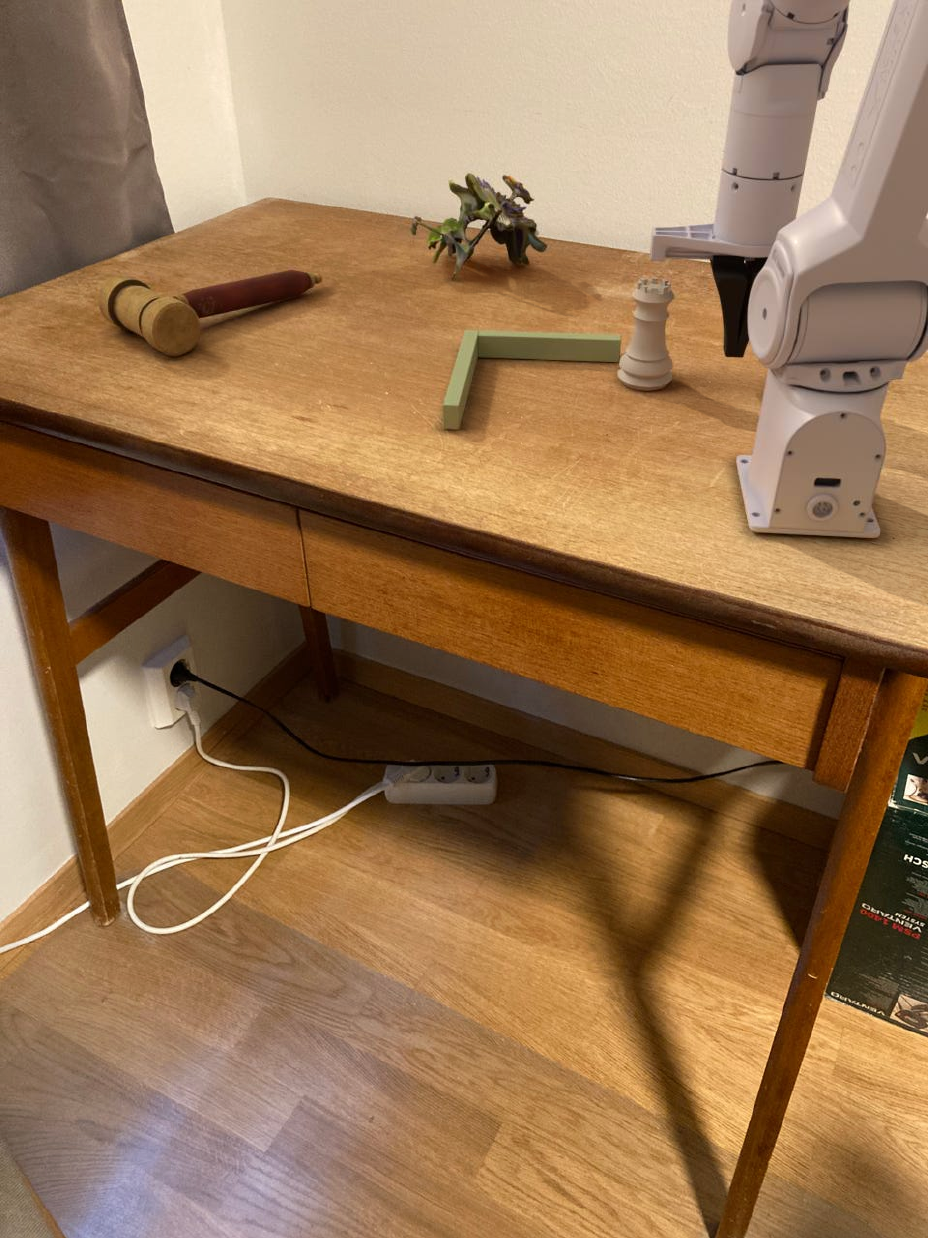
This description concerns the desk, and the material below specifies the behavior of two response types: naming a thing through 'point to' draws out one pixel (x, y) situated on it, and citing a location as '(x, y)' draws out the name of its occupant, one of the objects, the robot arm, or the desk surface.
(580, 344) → the corner guide
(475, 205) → the passion flower
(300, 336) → the desk surface
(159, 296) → the gavel
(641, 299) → the rook chess piece
